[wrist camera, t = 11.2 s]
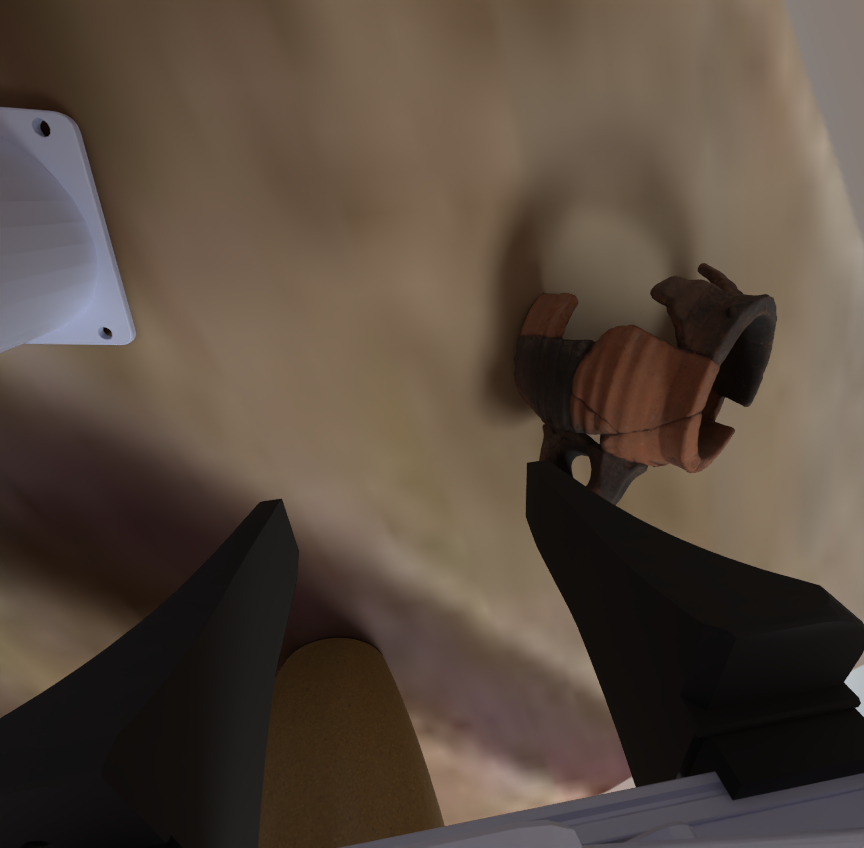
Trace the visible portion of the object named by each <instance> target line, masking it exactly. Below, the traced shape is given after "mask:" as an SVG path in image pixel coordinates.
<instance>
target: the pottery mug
mask: <svg viewBox="0 0 864 848" xmlns="http://www.w3.org/2000/svg"><path fill="white" fill-rule="evenodd" d="M698 272H699V273H700V274H701V275H702V276H704V277H705V278H707V279H708V280H709V281H710V282H711V283H709V282H707V281H705V280H685V279H683V278H681V277H677V276H673V277H669V278H667V279H666V280H664V281H662V282H660V283H658V284H657V285H655V286H654V287H653V288H652V290H651V291H650V294H651V296H652V298H653V299H654V300H656V301H657V302H659V303H660V304H662V305H665V306H666V307H667V312H668V314H669V316H670V318H671V320H672V323H673V325H674V328H675V334H676V339H677V348H675V347H673V346H672V345H671V344H669V343H668V342H666V341H663V340H660V339H658V338H657V337H655V336H653V335H652V334H650V333H648V332H646V331H644V330H642V329H641V328H639V327H637V326H635V325H628V326H617V327H615V328H612V329H609V330H608V331H607V332H606V333H605V334H604V335H602V336H601V337H600V339H599V340H598V341H597V342H594V341H592V340H564V339H562V336H563V334H564V331H565V327H566V325H567V323H568V321H569V318H570V317H571V315H572V313H573V311H574V309H575V308H576V306H577V305H578V299H577V297H576V296H575V295H573V294H569V293H562V294H542V295H540V296H539V297H538V298H537V300H536V301H535V303H534V304H533V305H532V307H531V309H530V311H529V313H528V315H527V317H526V319H525V322H524V325H523V328H522V330H521V335H520V337H519V339H518V344H517V350H516V355H515V358H514V361H515V372H514V374H515V381H516V385H517V387H518V389H519V391H520V394H521V395H522V397H523V398H524V400H525V401H526V402H527V403H528V404H529V405H530V406H531V407H532V409H533V410H534V411H535V412H536V414H537V415H538V416H539V417H540V418H541V420H542V421H543V422H544V423H545V424H544V425H543V432H544V439H543V444H542V447H541V453H540V459H539V461H543V460H548V461H549V462H551V463H552V464H554V465H555V466H557V467H558V468H560V469H561V470H563V471H564V472H565V473H567V474H568V475H570V476H571V477H572V478H573V475H572V468H571V465H572V461H573V460H574V459H575V457H577V456H580V455H584V456H589V458H590V462H591V468H592V470H591V477H590V481H589V483H588V485H587V486H586V487H587V488H589V489H590V490H592V491H593V492H595V493H596V494H598V495H599V496H601V497H602V498H604V499H605V500H607V501H609V502H610V503H612V504H614V505H616V504H617V503H618V502H619V500H620V499H621V498H622V496H623V494H624V493H625V491H626V489H627V488H628V486H629V485H630V483H631V482H632V481H633V480H634V479H635V478H636V477H638V476H639V475H641V474H642V473H644V472H645V471H646V470H647V467H648V465H650V466H653V467H658V466H664V465H667V464H669V463H671V464H673V465H676V466H678V467H680V468H682V469H684V470H686V471H687V472H689V473H696V472H699V471H701V470H703V469H705V468H706V467H707V466H708V465H709V464H711V463H712V462H713V460H714V459H715V458H716V457H717V456H718V455H719V454H720V453H721V451H722V450H723V449H724V447H725V446H726V445H727V443H728V442H729V440H730V439H731V437H732V435H733V434H734V432H735V429H734V428H732V427H730V426H726V425H723V424H720V423H717V422H715V420H716V417H717V416H718V414H719V412H720V409H721V407H722V404H723V401H724V398H725V397H727V398H729V399H730V400H732V401H734V402H736V403H739V404H741V405H743V406H744V407H748V406H750V405H751V403H752V402H753V399H754V397H755V395H756V393H757V391H758V388H759V386H760V383H761V381H762V379H763V374H764V371H765V369H766V366H767V364H768V361H769V358H770V354H771V350H772V344H773V339H774V332H775V327H776V321H777V316H776V305H775V302H774V299H773V298H772V297H770V296H769V295H767V294H763V295H758V296H753V295H744V294H743V293H742V292H741V291H739V290H738V289H737V287H736V285H735V284H734V283H733V282H732V281H730V280H729V279H728V278H727V277H726V276H725V275H724V274H723V273H721V272H720V271H718V270H716V269H714V268H712V267H711V266H709V265H707V264H705V263H703V264H700V265H699V267H698ZM586 433H587V434H594V435H596V434H600V444H598V443H597V442H595V441H594V440H593V439H592V438H591V437H590V436H588V435H587V434H586Z"/></svg>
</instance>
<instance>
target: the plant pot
mask: <svg viewBox="0 0 864 848" xmlns="http://www.w3.org/2000/svg"><path fill="white" fill-rule="evenodd" d="M444 826H445V825H444V822H443V818H442V815H441V811H440V808H439V804H438V801H437V798H436V795H435V791H434V788H433V785H432V782H431V778H430V775H429V772H428V769H427V766H426V763H425V760H424V757H423V754H422V751H421V748H420V745H419V742H418V739H417V736H416V733H415V731H414V728H413V725H412V722H411V720H410V717H409V715H408V712H407V709H406V707H405V704H404V702H403V699H402V697H401V695H400V692H399V690H398V687H397V685H396V683H395V681H394V678H393V676H392V674H391V672H390V670H389V667H388V665H387V663H386V661H385V659H384V657H383V655H382V654H381V653H380V652H379V651H378V650H377V649H376V648H374V647H373V646H371V645H369V644H367V643H365V642H362V641H359V640H355V639H350V638H330V639H323V640H319V641H315V642H312V643H309V644H307V645H305V646H303V647H301V648H299V649H298V650H296V651H295V652H294V653H293V654H291V655H290V656H289V657H288V659H287V660H286V661H285V663H284V664H283V666H282V668H281V669H280V671H279V672H278V674H277V676H276V677H275V682H274V689H273V697H272V705H271V712H270V721H269V730H268V739H267V748H266V757H265V767H264V778H263V789H262V801H261V812H260V827H259V842H258V848H340V847H345V846H350V845H355V844H360V843H365V842H370V841H375V840H380V839H385V838H390V837H395V836H400V835H404V834H409V833H414V832H419V831H424V830H429V829H434V828H439V827H444Z"/></svg>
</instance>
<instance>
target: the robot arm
mask: <svg viewBox="0 0 864 848" xmlns="http://www.w3.org/2000/svg"><path fill="white" fill-rule="evenodd" d="M42 121H45V122H46V123H47V124H48V125H49V127H50V135H49V136H48V137H46V136H45V135H44V134H43V133H42V131H41V129H40V124H41V122H42ZM103 327H106V328H108V329H109V330H111V332H112V337H110V336H108V335H106V334H105V332H104V331H103ZM135 337H136V331H135V327H134V324H133V320H132V316H131V313H130V309H129V306H128V302H127V298H126V295H125V291H124V288H123V284H122V280H121V277H120V273H119V269H118V266H117V262H116V259H115V255H114V251H113V248H112V244H111V240H110V237H109V233H108V230H107V226H106V222H105V219H104V215H103V211H102V208H101V204H100V201H99V197H98V193H97V190H96V186H95V182H94V179H93V175H92V172H91V168H90V164H89V161H88V157H87V154H86V150H85V146H84V143H83V139H82V135H81V132H80V130H79V127H78V125H77V124H76V123H75V122H74V120H73V119H72V118H70V117H69V116H67V115H66V114H62V113H58V112H55V111H46V110H34V109H21V108H9V107H0V353H2V352H4V351H6V350H9V349H11V348H14V347H16V346H19V345H21V344H88V345H125V344H128V343H130V342H132V341H133V340H134V339H135ZM526 518H527V521H528V524H529V527H530V530H531V533H532V535H533V538H534V540H535V543H536V546H537V548H538V550H539V552H540V554H541V556H542V558H543V560H544V562H545V564H546V565H547V567H548V569H549V571H550V573H551V575H552V577H553V579H554V581H555V583H556V585H557V587H558V589H559V590H560V592H561V594H562V596H563V598H564V600H565V602H566V604H567V606H568V608H569V610H570V612H571V614H572V616H573V618H574V620H575V622H576V625H577V627H578V629H579V632H580V634H581V637H582V639H583V642H584V644H585V647H586V649H587V652H588V654H589V657H590V659H591V662H592V665H593V667H594V670H595V673H596V675H597V678H598V680H599V683H600V686H601V688H602V691H603V694H604V696H605V699H606V702H607V705H608V707H609V710H610V713H611V716H612V719H613V722H614V724H615V727H616V730H617V733H618V736H619V738H620V741H621V744H622V747H623V750H624V753H625V756H626V759H627V762H628V765H629V768H630V771H631V774H632V777H633V780H634V783H635V786H636V788H631V789H627V790H621V791H617V792H611V793H607V794H601V795H597V796H592V797H587V798H582V799H577V800H572V801H567V802H562V803H557V804H552V805H547V806H542V807H537V808H533V809H528V810H523V811H518V812H513V813H508V814H503V815H498V816H493V817H488V818H483V819H478V820H473V821H468V822H464V823H459V824H454V825H449V826H444V827H439V828H434V829H429V830H424V831H419V832H414V833H409V834H404V835H400V836H395V837H390V838H385V839H380V840H375V841H370V842H365V843H360V844H355V845H350V846H345V847H340V848H864V717H863V716H862V715H861V714H860V713H859V712H858V711H857V710H856V709H855V708H856V707H859V705H860V704H861V702H860V700H859V698H858V696H857V695H856V694H855V693H854V692H853V691H852V690H851V689H850V688H849V687H848V686H847V685H846V684H845V683H844V681H845V679H846V678H847V676H848V675H849V673H850V672H851V670H852V669H853V667H854V666H855V664H856V663H857V661H858V660H859V658H860V657H861V655H862V653H863V651H864V624H863V622H862V621H861V620H860V619H858V618H857V617H856V616H855V615H854V614H853V613H852V612H850V611H849V610H848V609H847V608H846V607H845V606H843V605H842V604H841V603H840V602H839V601H838V600H836V599H835V598H834V597H833V596H832V595H831V594H830V593H828V592H827V591H826V590H825V589H824V588H822V587H821V586H820V585H816V584H813V583H809V582H806V581H802V580H798V579H795V578H791V577H788V576H784V575H780V574H777V573H773V572H770V571H766V570H763V569H760V568H756V567H753V566H750V565H747V564H744V563H742V562H739V561H736V560H733V559H730V558H727V557H724V556H721V555H719V554H716V553H713V552H711V551H708V550H706V549H703V548H701V547H698V546H696V545H693V544H691V543H688V542H686V541H684V540H681V539H679V538H677V537H675V536H672V535H670V534H668V533H666V532H664V531H662V530H660V529H658V528H656V527H654V526H652V525H650V524H648V523H646V522H644V521H642V520H640V519H638V518H636V517H634V516H632V515H631V514H629V513H627V512H626V511H624V510H622V509H620V508H619V507H617V506H615V505H614V504H612V503H610V502H609V501H607V500H605V499H604V498H602V497H601V496H599V495H598V494H596V493H595V492H593V491H592V490H590V489H589V488H587V487H586V486H584V485H583V484H581V483H580V482H578V481H577V480H575V479H574V478H572V477H571V476H570V475H568V474H567V473H565V472H564V471H563V470H561V469H560V468H558V467H557V466H555V465H554V464H552V463H551V462H549V461H548V460H543V461H536V462H529V463H527V485H526ZM298 558H299V550H298V546H297V543H296V540H295V537H294V534H293V531H292V528H291V525H290V522H289V519H288V516H287V513H286V510H285V507H284V504H283V501H282V499H276V500H269V501H263V502H260V503H259V504H258V505H257V506H256V507H255V508H254V509H253V510H252V511H251V513H250V514H249V515H248V516H247V517H246V518H245V519H244V521H243V522H242V523H241V524H240V525H239V526H238V527H237V529H236V530H235V531H234V532H233V533H232V534H231V535H230V536H229V537H228V539H227V540H226V541H225V542H224V543H223V544H222V545H221V546H220V547H219V549H218V550H217V551H216V552H215V553H214V554H213V555H212V556H211V557H210V558H209V559H208V560H207V561H206V562H205V563H204V564H203V565H202V566H201V567H200V568H199V569H198V570H197V571H196V572H195V573H194V574H193V575H192V576H191V577H190V578H189V579H188V580H187V581H186V582H185V583H184V584H183V585H182V586H181V587H180V588H179V589H178V590H177V591H176V592H175V593H174V594H173V595H171V596H170V597H169V598H168V599H167V600H166V601H165V602H164V603H162V604H161V605H160V606H159V607H158V608H157V609H156V610H154V611H153V612H152V613H151V614H150V615H149V616H147V617H146V618H145V619H144V620H142V621H141V622H140V623H139V624H137V625H136V626H135V627H133V628H132V629H131V630H130V631H128V632H127V633H126V634H124V635H123V636H122V637H121V638H119V639H118V640H117V641H115V642H114V643H113V644H112V645H110V646H109V647H108V648H106V649H105V650H104V651H102V652H101V653H100V654H98V655H97V656H95V657H94V658H93V659H91V660H90V661H88V662H87V663H85V664H84V665H83V666H81V667H80V668H78V669H77V670H75V671H74V672H72V673H71V674H69V675H68V676H66V677H65V678H64V679H62V680H61V681H59V682H58V683H56V684H55V685H53V686H52V687H50V688H48V689H47V690H45V691H44V692H42V693H41V694H39V695H38V696H36V697H34V698H33V699H31V700H29V701H28V702H26V703H25V704H23V705H21V706H20V707H18V708H16V709H15V710H13V711H12V712H10V713H8V714H7V715H5V716H3V717H2V718H0V848H258V842H259V827H260V812H261V801H262V789H263V778H264V767H265V757H266V748H267V739H268V730H269V721H270V712H271V705H272V697H273V689H274V682H275V676H276V670H277V665H278V660H279V656H280V651H281V647H282V643H283V639H284V634H285V630H286V626H287V621H288V617H289V613H290V609H291V604H292V600H293V595H294V591H295V586H296V579H297V570H298Z"/></svg>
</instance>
